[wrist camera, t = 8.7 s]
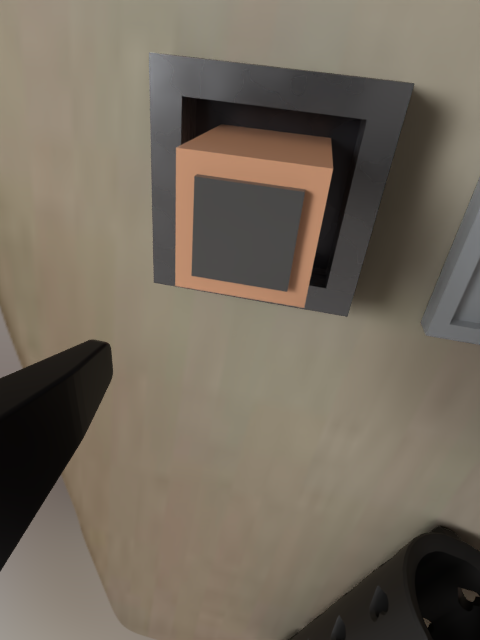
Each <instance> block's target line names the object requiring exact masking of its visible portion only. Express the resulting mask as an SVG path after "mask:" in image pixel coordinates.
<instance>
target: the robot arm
mask: <svg viewBox="0 0 480 640" xmlns="http://www.w3.org/2000/svg"><path fill="white" fill-rule="evenodd" d="M112 375H113V365H112V354H111V346H110V344H109V343H107V342H103V341H99V340H88V341H86V342H84V343H81V344H79V345H77V346H74V347H72V348H70V349H67V350H65V351H63V352H60V353H58V354H56V355H54V356H51V357H49V358H47V359H44V360H42V361H40V362H37V363H35V364H33V365H30V366H28V367H26V368H23V369H21V370H19V371H16V372H14V373H12V374H9V375H7V376H5V377H2V378H0V571H1V570H2V568H3V566H4V565H5V563H6V562H7V560H8V558H9V557H10V555H11V554H12V552H13V550H14V549H15V547H16V546H17V544H18V542H19V541H20V539H21V537H22V536H23V534H24V533H25V531H26V529H27V528H28V526H29V525H30V523H31V521H32V520H33V518H34V517H35V515H36V513H37V512H38V510H39V509H40V507H41V505H42V504H43V502H44V501H45V499H46V497H47V496H48V494H49V493H50V491H51V489H52V488H53V486H54V485H55V483H56V481H57V480H58V478H59V477H60V475H61V473H62V472H63V470H64V469H65V467H66V465H67V464H68V462H69V461H70V459H71V457H72V456H73V454H74V453H75V451H76V449H77V448H78V446H79V444H80V443H81V441H82V439H83V438H84V436H85V434H86V432H87V430H88V428H89V426H90V424H91V422H92V420H93V417H94V415H95V413H96V411H97V409H98V407H99V405H100V403H101V401H102V399H103V397H104V394H105V392H106V390H107V388H108V386H109V384H110V382H111V379H112Z"/></svg>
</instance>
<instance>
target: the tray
mask: <svg viewBox="0 0 480 640" xmlns="http://www.w3.org/2000/svg"><path fill="white" fill-rule="evenodd" d="M421 324H422V327H423V329H424V332H425V335H427V336H433V337H438V338H444V339H450V340H455V341H461V342H467V343H472V344H478V345H480V178H479V180H478V183H477V185H476V188H475V190H474V193H473V195H472V198H471V200H470V203H469V205H468V207H467V210H466V212H465V215H464V217H463V220H462V222H461V225H460V227H459V229H458V232H457V234H456V237H455V239H454V242H453V244H452V247H451V249H450V252H449V254H448V256H447V259H446V261H445V264H444V266H443V269H442V271H441V274H440V276H439V279H438V281H437V283H436V286H435V288H434V291H433V293H432V296H431V298H430V301H429V303H428V305H427V308H426V310H425V313H424V315H423V318H422V320H421Z"/></svg>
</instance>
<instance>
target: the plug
mask: <svg viewBox="0 0 480 640" xmlns="http://www.w3.org/2000/svg"><path fill="white" fill-rule="evenodd" d="M332 172H333V159H332V144H331V138H326V137H318V136H311V135H303V134H295V133H287V132H279V131H271V130H263V129H255V128H248V127H240V126H232V125H224V124H221V125H219V126H217V127H215V128H213V129H211V130H209V131H207V132H205V133H203V134H202V135H200V136H198V137H196V138H194V139H192V140H190V141H188V142H186V143H184V144H182V145H180V146H178V147H176V247H175V286H179V287H185V288H191V289H196V290H202V291H208V292H214V293H220V294H226V295H232V296H237V297H243V298H249V299H255V300H261V301H267V302H272V303H278V304H284V305H290V306H296V307H302V308H304V306H305V302H306V297H307V292H308V287H309V282H310V278H311V273H312V268H313V263H314V258H315V254H316V249H317V244H318V239H319V234H320V230H321V225H322V220H323V215H324V210H325V206H326V201H327V196H328V191H329V187H330V182H331V177H332Z"/></svg>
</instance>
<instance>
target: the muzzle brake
mask: <svg viewBox="0 0 480 640" xmlns="http://www.w3.org/2000/svg"><path fill="white" fill-rule="evenodd" d="M461 588H464V589H468V590H471V591H474V592H476V593H477V594H478V595H479V596H480V552H479V551H478V550H476V549H475V548H473V547H472V546H470V545H469V544H467V543H465V542H463V541H461V539H460V538H459V537H458V536H457V535H456V534H455V532H452V531H450V530H447V529H445V528H442V527H440V526H438V527H436V528H435V529H434V530H433V531H431V532H430V533H425V534H421V535H420V536H418V537H416V538H415V539H413V540H412V541H411V542H409V543H408V544H407V545H406V546H405V547H403V548H402V549H401V550H400V551H399V552H398V553H397V554H396V555H395V556H394V557H393V558H391V559H390V560H388V561H387V562H385V563H384V564H382V565H381V566H380V567H379V568H377V569H376V570H375V571H374V572H372V573H371V574H370V575H369V576H367V577H366V578H365V579H364V580H362V581H361V582H360V583H359V584H358V585H357V586H356V587H355V588H354V589H352V590H351V591H350V592H348V593H346V594H345V595H344V596H343V597H341V598H340V599H339V600H338V601H336V602H335V603H334V604H333V605H331V606H330V607H329V608H328V609H327V610H326V611H325V612H324V613H323V614H321V615H320V616H318V617H317V618H315V619H314V620H313V621H312V622H310V623H309V624H308V625H307V626H305V627H304V628H303V629H302V630H301V631H300V632H299V633H298V634H296V635H295V636H293V637H292V638H291V639H289V640H480V597H477V596H476V598H475V601H474V602H470V601H468V600H467V599H466V598H465V596H464V595H463V593H462V589H461ZM423 618H426V619H428V620H429V621H430V622H431V623H430V625H429V627H428V628H427V626H426V624H425V622H424V619H423Z"/></svg>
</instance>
